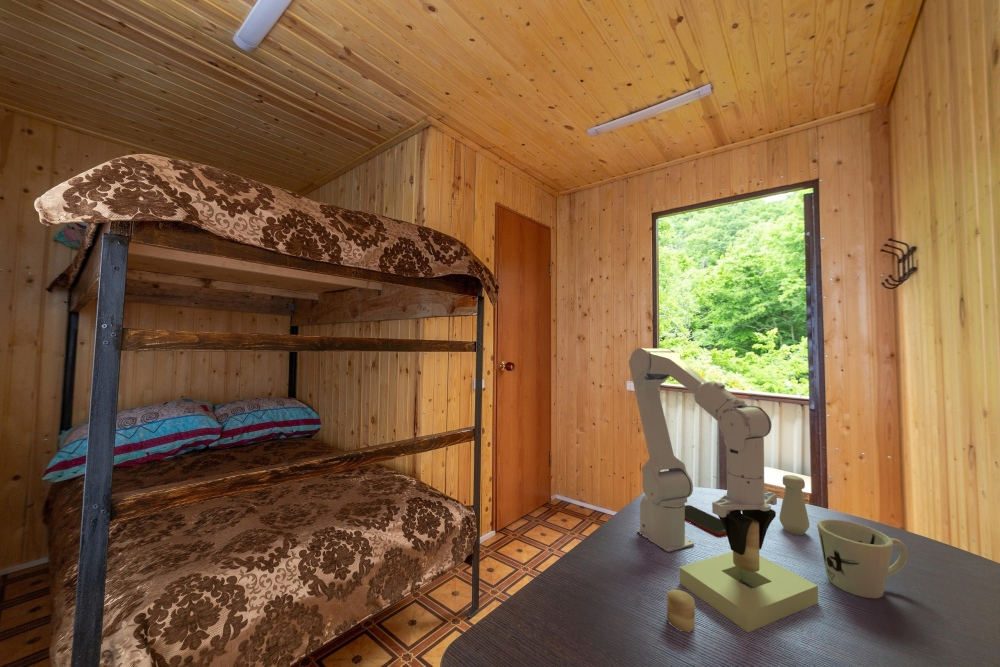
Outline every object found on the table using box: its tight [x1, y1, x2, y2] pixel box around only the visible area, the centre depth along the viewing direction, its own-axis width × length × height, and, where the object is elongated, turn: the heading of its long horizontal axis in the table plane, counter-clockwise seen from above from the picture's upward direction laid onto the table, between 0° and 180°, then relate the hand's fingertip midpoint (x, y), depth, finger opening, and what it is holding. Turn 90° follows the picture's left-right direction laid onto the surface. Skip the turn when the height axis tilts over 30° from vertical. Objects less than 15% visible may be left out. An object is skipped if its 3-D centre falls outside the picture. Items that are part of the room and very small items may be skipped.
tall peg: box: [732, 516, 760, 572], centre depth 68 cm, size 4×4×8 cm
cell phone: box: [685, 504, 727, 538], centre depth 96 cm, size 8×15×1 cm, turn 23°
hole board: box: [679, 550, 819, 634], centre depth 68 cm, size 13×18×3 cm
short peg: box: [666, 589, 696, 633], centre depth 61 cm, size 4×4×4 cm
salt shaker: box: [778, 474, 810, 536], centre depth 91 cm, size 6×6×13 cm
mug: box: [816, 518, 909, 599], centre depth 71 cm, size 10×15×10 cm
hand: (745, 549), depth 68 cm, fingers closed on tall peg, 4 cm apart
